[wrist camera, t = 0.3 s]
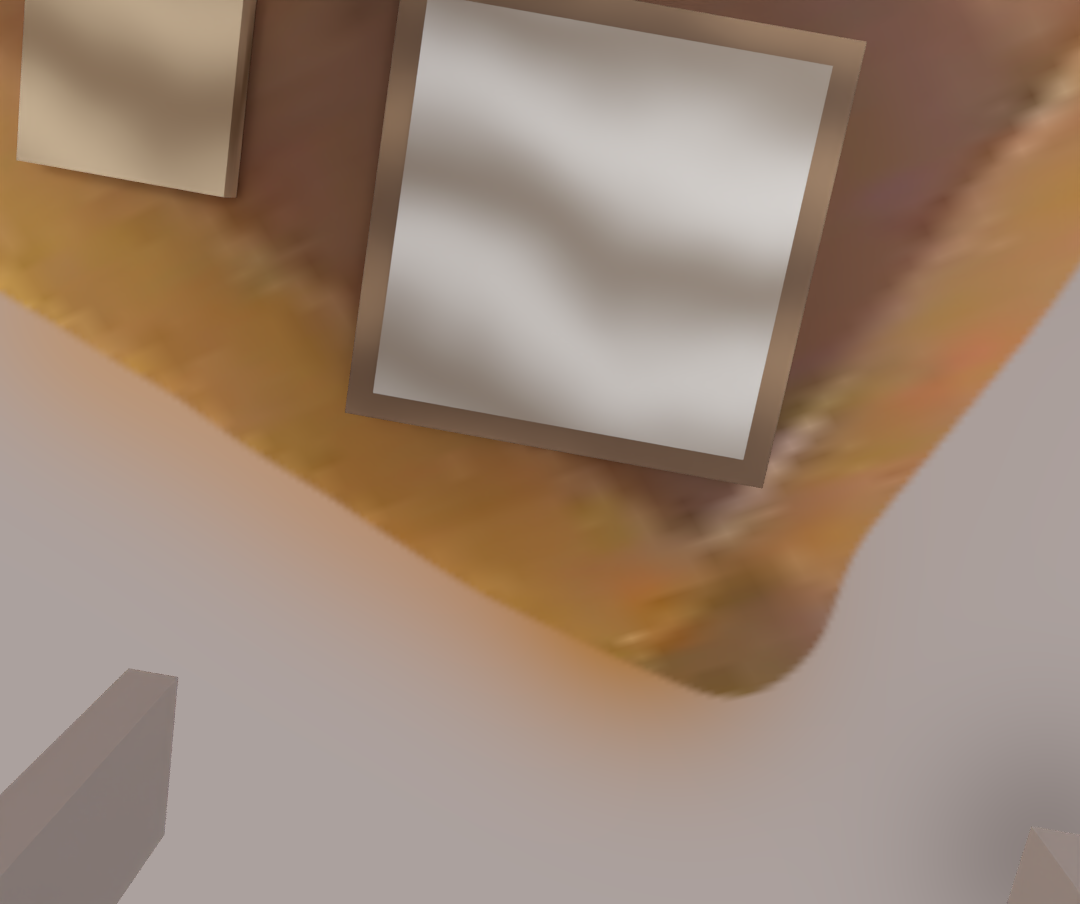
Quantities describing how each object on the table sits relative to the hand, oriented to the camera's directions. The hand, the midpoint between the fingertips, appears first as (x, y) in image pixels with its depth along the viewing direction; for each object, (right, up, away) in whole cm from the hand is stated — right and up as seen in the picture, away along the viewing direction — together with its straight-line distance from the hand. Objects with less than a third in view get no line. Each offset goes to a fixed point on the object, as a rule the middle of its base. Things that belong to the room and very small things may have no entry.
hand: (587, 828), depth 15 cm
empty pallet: (-16, +20, +24) cm, 35 cm away
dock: (+1, +14, +24) cm, 28 cm away
